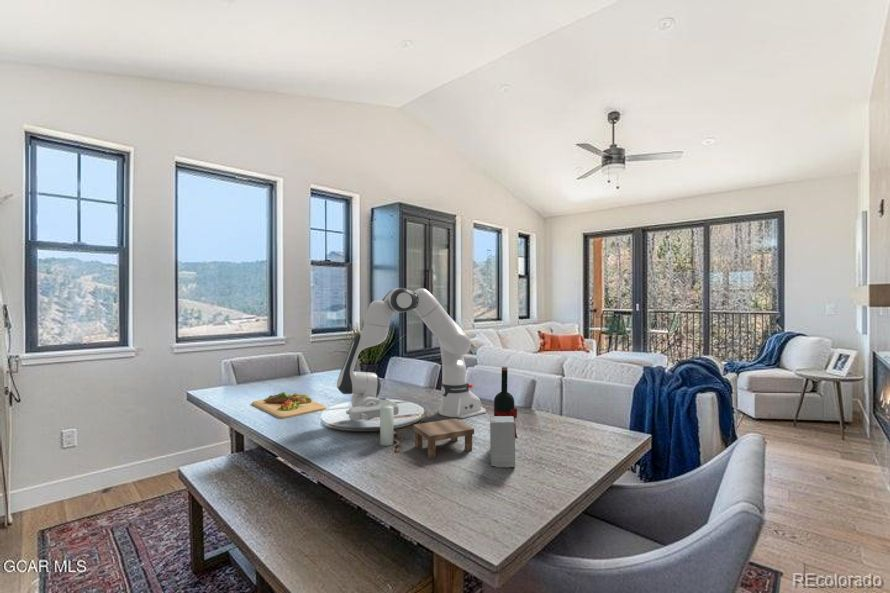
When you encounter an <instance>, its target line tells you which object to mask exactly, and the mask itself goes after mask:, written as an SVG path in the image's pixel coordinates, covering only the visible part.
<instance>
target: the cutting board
mask: <svg viewBox="0 0 890 593" xmlns="http://www.w3.org/2000/svg"><path fill="white" fill-rule="evenodd" d="M251 405H252V406H253V407H256V408H258V409H259V410H262V411H264V412H266V413H268V414H270V415H272V416H274V417H276V418H278V419H283V420H284V419H290V418H293V417H298V416H304V415H308V414H313V413H318V412H322V411H326V410H327V406H326V405H324V404H322V403H319V402H317V401H314V400H312V398H311V397H309V396H308V394H305V393H304V394H300V393H295V392H294V393H293V394H286V391H281V392H279V393H278V394H274V395H271V394H270V395H269V396H268V397H265V398H264V399H258V400H253V401H252V402H251Z"/></svg>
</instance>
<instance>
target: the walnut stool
mask: <svg viewBox="0 0 890 593" xmlns="http://www.w3.org/2000/svg"><path fill="white" fill-rule="evenodd" d="M413 431H414V432H415V433H414V434H415V435H414V436H415V438H414V440H415V442H414V444H415V445H414V447H416V448H417V449H418V448H422V447H423V438H424V439H425V440H426V441H427V457H428V458H429V459H434V458H436V442H437V441H442V440H443V441H444V440H449V439H450V441H451V442H457V441H459V440H458V438H460V437H464V450H465V451H466V452H471V451H473V435H475V428H473V427H472V426H471V425H468V424H467V423H465V422H463V421H461V420H459V419H457V417H454V418H450V419H442V420H436V421H429V422H423V423H417V424H413Z"/></svg>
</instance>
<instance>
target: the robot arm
mask: <svg viewBox="0 0 890 593" xmlns="http://www.w3.org/2000/svg"><path fill="white" fill-rule="evenodd" d="M367 308H368V309H367V311H366V314H365V318H364V325H363V327H362V329H361V331H360V332H359V333H357V334H355V335H354V337H353V340H352V341H351V344H350V346H349V348H348V352H347V355H346V358H345V361H344V364H343V366H342V368H341V370H340V373H339V375H338V377H337V379H336V380H337V381H336V388H337V390H338V391H339V392H340V393H341V394H342V395H352V396H350V397H351V398H350V403H351V406H352V407H350V408H348V410H346V411H345V413H346V414H347V415H348V418H349V419H350V421H361V420H364V421H370V420H373V419H375V418H376V419H377V418H380V406H383V405H392V406H394V416H397V415H398V414H399V412H400V410H399V405H398V404H397V403H396V402H394V401H391V400H390V399H389V398H387V397H384V398H382V397H379V394H380V392H381V386H382V384H381V379H380V378H379V376H378V374H377V373H375V372H369V371H368V372H367V371H356V370H355V371H354V369H355V366H356V363H357V360H358V358H359V355H360V353H361V352H362V351H363V350H365V349H367V348H371V347H374V346H375V347H376V346H378V345H380V344H383V342H384V341H385V340H387V338H388V334H389V331H390V324H391V319H392V317H393V315H394V314H396V313H399V314H401V313H406V312H409V311H412V310H413V311H414V312H415V313H416V314H417V315H418V316H419V318H420V319H421V320H422V322H423V323H424V325H426V327H427V328H428V329H429V331H430V332H431V333H432V334H433V335H434V336H435V337H436V338H437V339H438V342H439V348H440V357H441V358H440V359H441V365H442V367H441V368H442V373H441V374H442V375H441V376H442V378H441V379H442V382H441V388H440V389H441V390H440V391H441V392H440V393H441V400H440V406H439V410H438V414H439V415H441V416H445V417H448V418H449V417H450V418H460V419H465V418H470V417H473V416H479V415H481V414H486V412H487V411H486V408H484V407H483V406H482V403H481V399H480V398H479V397H478V396H477V395H475V394H474V393H473V391H471V390H470V389H473V388H474V385H473V384H472V383H467V381H466V380H467V366H466V363H465V357H464V356H465V355H466V354H467V353H469V352H470V351H471V347H472V342H471V339H470V337H469V336H468V334H466V333H465V331H464V330H463V329H462V328H461V327H460V326H459V324H458V323H457V322H456V321H455V320H454V319H453V318H452V317H451V316H450V315H449V314H448V312H447V311H446V310H445V308H444V307H443V306H442V305H441V303H440V301H438V299H437V298H435V296H434V295H433V294H432V293H431V292H430V291H429V290H427V288H423V287H422V288H421V287H420V288H417V289H415V290H414V291H413V290H410V289H408V288H405V287H404V288H403V287H397V288H393V289H391V290H389V291H388V292H387V294H386V295H385V296H384V297H383V298H382V300H381V299H377V300H376V299H375V300H373V301H372V302H370V304H369V306H368V307H367Z"/></svg>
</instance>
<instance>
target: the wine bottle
mask: <svg viewBox="0 0 890 593" xmlns="http://www.w3.org/2000/svg"><path fill="white" fill-rule="evenodd" d="M508 369H509V367H508V366H501V382H500V383H501V390H500V392H498V393H496V395H495V397H494V400H493V416H513V417H514V421H515V422H516V419H517V418H518V417H517V416H518V408H517V407H515V398H514V396H513V395H512V393H510V392H509V391H508ZM518 439H519V438H518V435H517V426H516V425H515V440H518Z"/></svg>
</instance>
